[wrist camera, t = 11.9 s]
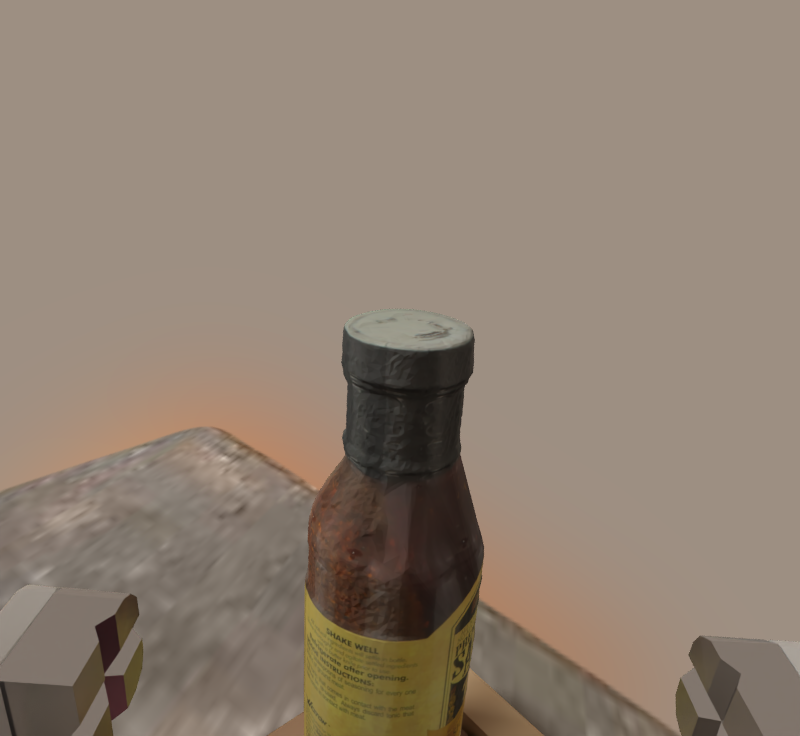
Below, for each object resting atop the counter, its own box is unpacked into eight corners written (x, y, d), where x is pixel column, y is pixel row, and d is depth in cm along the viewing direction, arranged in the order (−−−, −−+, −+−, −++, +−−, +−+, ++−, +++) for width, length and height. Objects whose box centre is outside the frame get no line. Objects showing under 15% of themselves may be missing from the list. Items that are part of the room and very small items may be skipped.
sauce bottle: (469, 846, 24) (558, 375, 16) (304, 870, 23) (314, 376, 15) (432, 697, 30) (484, 298, 22) (300, 710, 29) (305, 294, 21)
